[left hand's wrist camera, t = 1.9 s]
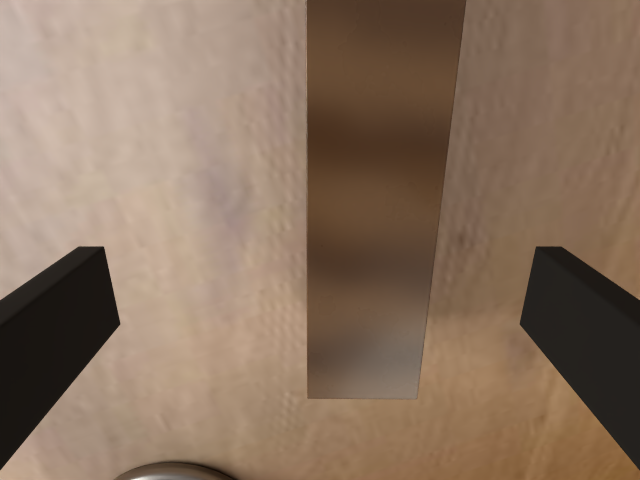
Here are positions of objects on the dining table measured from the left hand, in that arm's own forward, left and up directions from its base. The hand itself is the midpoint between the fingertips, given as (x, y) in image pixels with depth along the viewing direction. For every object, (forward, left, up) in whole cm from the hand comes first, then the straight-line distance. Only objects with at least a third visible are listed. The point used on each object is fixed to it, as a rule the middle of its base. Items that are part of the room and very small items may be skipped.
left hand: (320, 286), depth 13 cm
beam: (+26, +3, -14) cm, 29 cm away
